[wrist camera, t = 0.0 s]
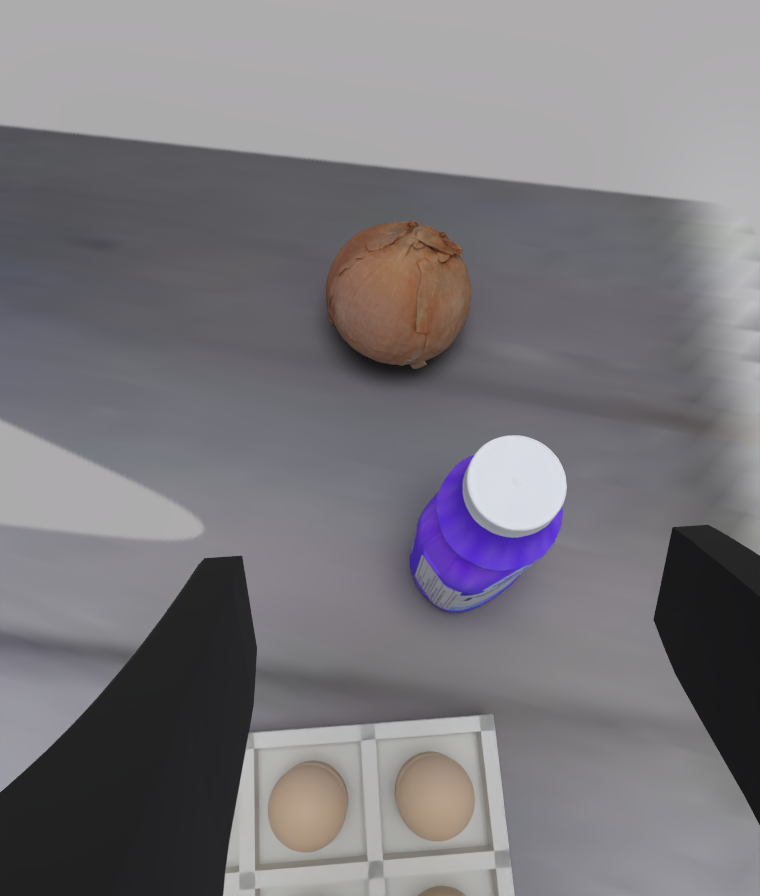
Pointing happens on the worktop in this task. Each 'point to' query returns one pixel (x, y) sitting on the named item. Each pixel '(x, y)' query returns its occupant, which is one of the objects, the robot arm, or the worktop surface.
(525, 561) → the bottle
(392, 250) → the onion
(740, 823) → the worktop surface
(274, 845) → the carton
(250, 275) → the worktop surface
